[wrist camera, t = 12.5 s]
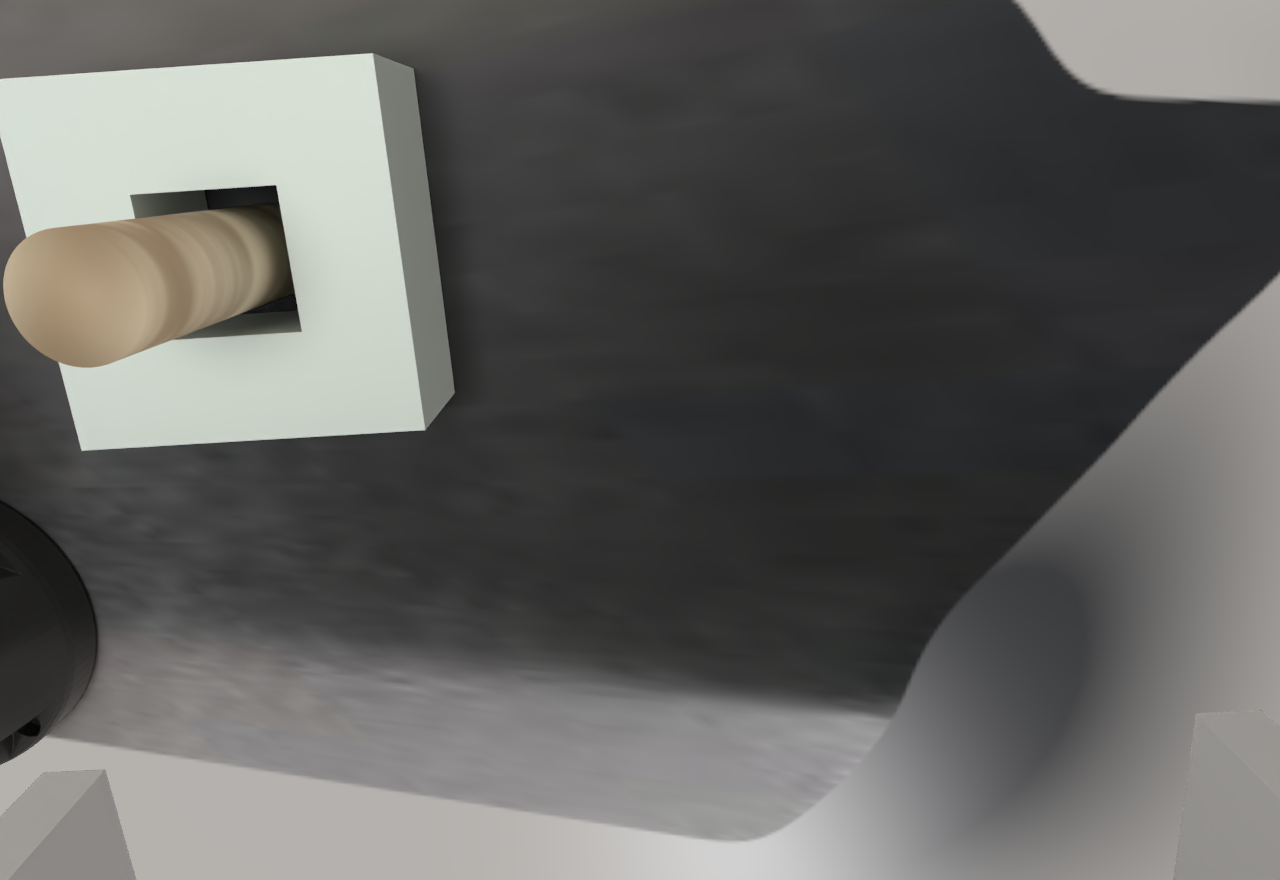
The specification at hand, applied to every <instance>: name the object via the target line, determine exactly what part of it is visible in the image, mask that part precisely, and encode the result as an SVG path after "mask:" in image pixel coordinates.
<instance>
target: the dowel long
mask: <svg viewBox="0 0 1280 880" xmlns="http://www.w3.org/2000/svg"><path fill="white" fill-rule="evenodd" d="M3 289H4V298H5V303H6V306H7V309H8V312H9V314H10V316H11V319H12V321H13V322H14V324H15V326H16V327H17V329H18V330H19V332H20V333H21V334H22V336H23V337H24V338H25V339H26V340H27V341H28V342H29V343H30V344H31V345H32V346H33V347H34V348H36V349H37V350H38V351H39V352H41V353H42V354H44V355H45V356H47V357H49V358H51V359H53V360H55V361H57V362H60V363H63V364H66V365H70V366H74V367H81V368H93V367H100V366H104V365H107V364H110V363H113V362H116V361H118V360H121V359H123V358H126V357H129V356H131V355H134V354H137V353H139V352H142V351H144V350H147V349H150V348H152V347H155V346H158V345H160V344H163V343H165V342H168V341H171V340H173V339H176V338H178V337H181V336H184V335H186V334H189V333H192V332H194V331H197V330H199V329H202V328H205V327H207V326H210V325H213V324H215V323H218V322H220V321H223V320H226V319H228V318H231V317H234V316H236V315H239V314H241V313H244V312H247V311H249V310H252V309H255V308H257V307H260V306H262V305H265V304H268V303H270V302H273V301H276V300H278V299H281V298H283V297H286V296H289V295H291V294H294V293H295V289H294V284H293V278H292V272H291V267H290V261H289V255H288V249H287V244H286V238H285V232H284V227H283V221H282V215H281V210H280V204H277V203H266V204H257V205H249V206H240V207H231V208H222V209H214V210H205V211H196V212H188V213H179V214H170V215H162V216H153V217H144V218H135V219H127V220H118V221H109V222H101V223H92V224H83V225H75V226H66V227H57V228H50V229H45V230H42V231H39V232H37V233H34V234H32V235H30V236H29V237H27V238H26V239H24V240H23V241H22V242H21V243H20V244H19V245H18V246H17V247H16V249H15V250H14V251H13V253H12V254H11V256H10V258H9V260H8V262H7V265H6V268H5V273H4V280H3Z"/></svg>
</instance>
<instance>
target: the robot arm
mask: <svg viewBox="0 0 1280 880" xmlns="http://www.w3.org/2000/svg"><path fill="white" fill-rule="evenodd" d="M95 654H96V633H95V625H94V619H93V615H92V611H91V608H90V604H89V601H88V599H87V596H86V594H85V591H84V589H83V587H82V585H81V583H80V581H79V579H78V577H77V576H76V574H75V572H74V570H73V569H72V567H71V566H70V564H69V563H68V561H67V560H66V559H65V557H64V556H63V555H62V554H61V552H60V551H59V550H58V549H57V548H56V546H55V545H54V544H53V543H52V542H51V541H50V540H49V539H48V538H47V537H46V536H45V535H44V534H43V533H42V532H41V531H40V530H39V529H37V528H36V527H35V526H34V525H33V524H31V523H30V522H29V521H28V520H26V519H25V518H24V517H22V516H21V515H19V514H18V513H17V512H15V511H14V510H12V509H10V508H9V507H7V506H6V505H4V504H2V503H0V765H1V764H3V763H5V762H7V761H9V760H11V759H13V758H15V757H17V756H18V755H20V754H22V753H24V752H25V751H27V750H28V749H29V748H31V747H32V746H34V745H35V744H36V743H37V742H39V741H40V740H41V739H42V738H43V737H44V736H45V735H46V734H47V733H48V732H50V731H51V730H52V729H53V728H54V727H55V726H56V725H57V724H58V723H59V722H60V721H61V720H62V719H63V718H64V717H65V716H66V715H67V714H68V713H69V712H70V711H71V710H72V709H73V707H74V706H75V705H76V704H77V702H78V701H79V699H80V698H81V696H82V695H83V693H84V691H85V689H86V687H87V685H88V682H89V680H90V677H91V674H92V671H93V666H94V661H95ZM0 880H136V877H135V874H134V870H133V867H132V863H131V860H130V856H129V853H128V849H127V845H126V842H125V838H124V835H123V831H122V828H121V824H120V821H119V817H118V813H117V810H116V807H115V803H114V800H113V796H112V792H111V789H110V785H109V782H108V778H107V774H106V771H105V770H86V771H66V772H49V773H48V772H47V773H43V774H42V775H41V776H40V777H39V778H38V779H37V780H36V781H35V782H34V783H33V784H32V785H31V786H30V787H29V788H28V789H27V790H26V791H25V792H24V793H23V794H22V795H21V796H20V797H19V798H18V799H17V800H16V801H15V802H14V803H13V804H12V805H11V807H9V808H8V809H7V811H6V812H5V813H4V814H3V815H2V816H1V817H0ZM1173 880H1280V726H1279V725H1278V724H1276V723H1275V722H1274V721H1273V720H1272V719H1271V718H1270V717H1269V716H1268V715H1266V714H1265V713H1264V712H1263V711H1262V710H1254V711H1234V712H1215V713H1197V714H1196V718H1195V724H1194V732H1193V739H1192V746H1191V753H1190V762H1189V769H1188V775H1187V783H1186V790H1185V798H1184V805H1183V812H1182V820H1181V827H1180V834H1179V842H1178V849H1177V856H1176V864H1175V871H1174V878H1173Z"/></svg>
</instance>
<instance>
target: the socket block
mask: <svg viewBox="0 0 1280 880" xmlns="http://www.w3.org/2000/svg"><path fill="white" fill-rule="evenodd" d="M0 137H1V141H2V144H3V148H4V152H5V156H6V160H7V164H8V168H9V172H10V175H11V179H12V183H13V187H14V191H15V195H16V199H17V203H18V206H19V210H20V214H21V218H22V222H23V226H24V230H25V234H26V237H29V236H30V235H32V234H34V233H37V232H39V231H42V230H45V229H50V228H57V227H66V226H75V225H83V224H92V223H101V222H109V221H118V220H127V219H135V218H144V217H153V216H162V215H170V214H179V213H188V212H196V211H205V210H208V206H207V201H206V196H205V191H204V190H209V189H225V188H240V187H255V186H270V185H276V187H277V192H278V198H279V204H280V210H281V215H282V221H283V227H284V232H285V238H286V244H287V249H288V255H289V261H290V267H291V272H292V278H293V284H294V289H295V295H296V301H297V306H298V311H283V312H267V313H252V314H239V315H236V316H234V317H231V318H228V319H226V320H223V321H220V322H218V323H215V324H213V325H210V326H207V327H205V328H202V329H199V330H197V331H194V332H192V333H189V334H186V335H184V336H181V337H178V338H176V339H173V340H171V341H168V342H165V343H163V344H160V345H158V346H155V347H152V348H150V349H147V350H144V351H142V352H139V353H137V354H134V355H131V356H129V357H126V358H123V359H121V360H118V361H116V362H113V363H110V364H107V365H104V366H100V367H93V368H81V367H74V366H70V365H66V364H63V363H60V362H59V365H60V369H61V373H62V377H63V381H64V385H65V388H66V392H67V396H68V400H69V404H70V408H71V412H72V416H73V419H74V423H75V427H76V431H77V435H78V439H79V443H80V447H81V450H82V451H84V450H101V449H118V448H134V447H151V446H168V445H185V444H201V443H218V442H235V441H252V440H268V439H285V438H302V437H319V436H335V435H352V434H369V433H386V432H403V431H419V430H426V429H427V427H428V426H429V425H430V424H431V422H432V421H433V420H434V419H435V417H436V416H437V415H438V414H439V412H440V411H441V410H442V409H443V407H444V406H445V405H446V403H447V402H448V401H449V400H450V398H451V397H452V396H453V395H454V393H455V390H454V382H453V374H452V366H451V358H450V350H449V343H448V335H447V327H446V319H445V311H444V303H443V296H442V288H441V280H440V272H439V264H438V256H437V248H436V241H435V233H434V225H433V217H432V209H431V201H430V194H429V186H428V178H427V170H426V162H425V154H424V146H423V139H422V131H421V123H420V115H419V107H418V99H417V92H416V84H415V76H414V69H413V68H410V67H408V66H405V65H402V64H400V63H397V62H395V61H392V60H389V59H387V58H384V57H381V56H379V55H376V54H373V53H370V54H356V55H341V56H327V57H312V58H298V59H284V60H269V61H255V62H240V63H226V64H211V65H197V66H182V67H168V68H154V69H139V70H125V71H110V72H96V73H81V74H67V75H52V76H38V77H24V78H9V79H0Z"/></svg>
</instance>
